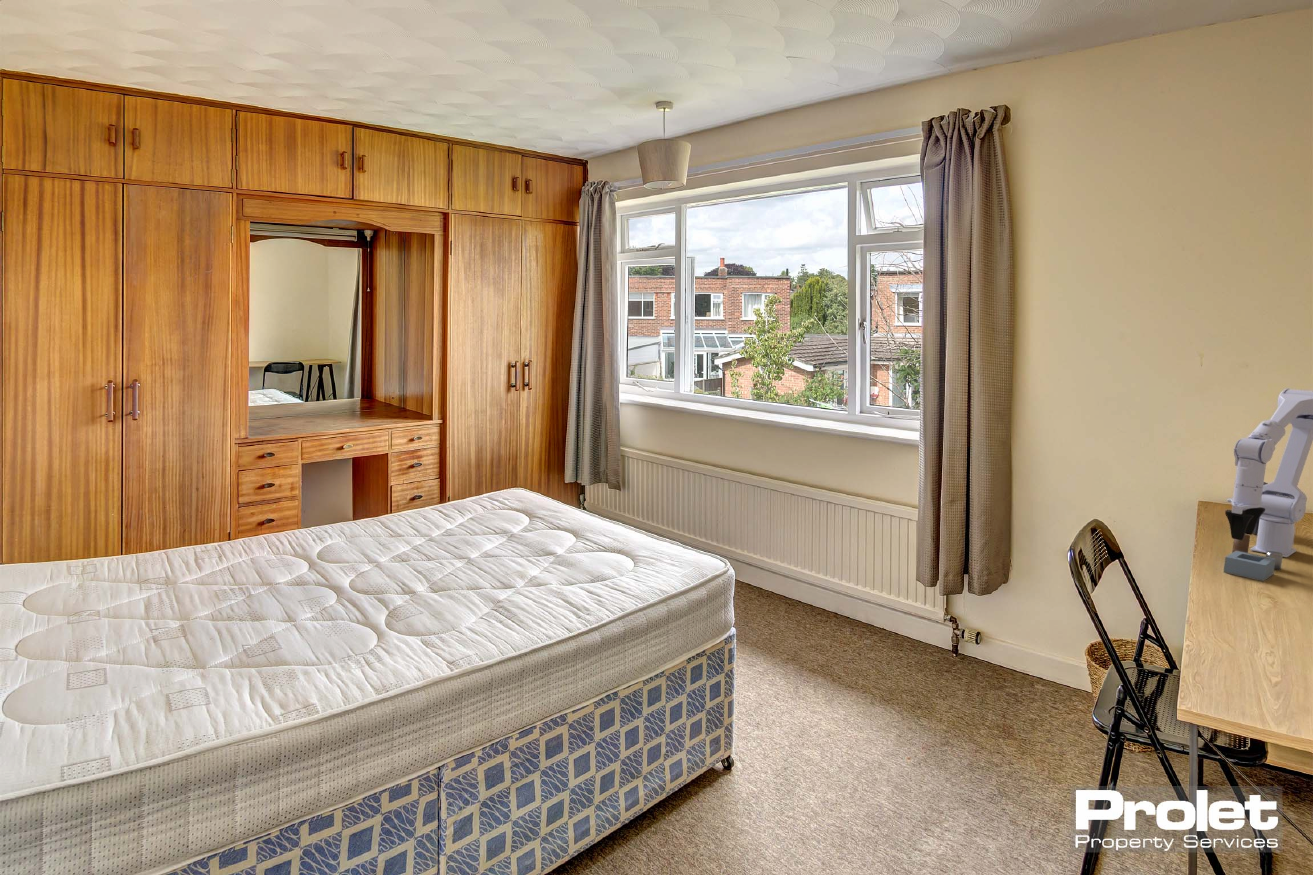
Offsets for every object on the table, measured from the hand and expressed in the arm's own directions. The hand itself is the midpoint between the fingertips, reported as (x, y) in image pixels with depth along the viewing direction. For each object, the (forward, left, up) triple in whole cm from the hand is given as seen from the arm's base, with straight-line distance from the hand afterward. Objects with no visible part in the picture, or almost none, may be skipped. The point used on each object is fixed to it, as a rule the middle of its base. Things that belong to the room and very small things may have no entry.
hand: (1241, 536), depth 194 cm
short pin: (0, +7, -7) cm, 10 cm away
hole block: (+9, +5, -7) cm, 12 cm away
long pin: (0, 0, -7) cm, 7 cm away
